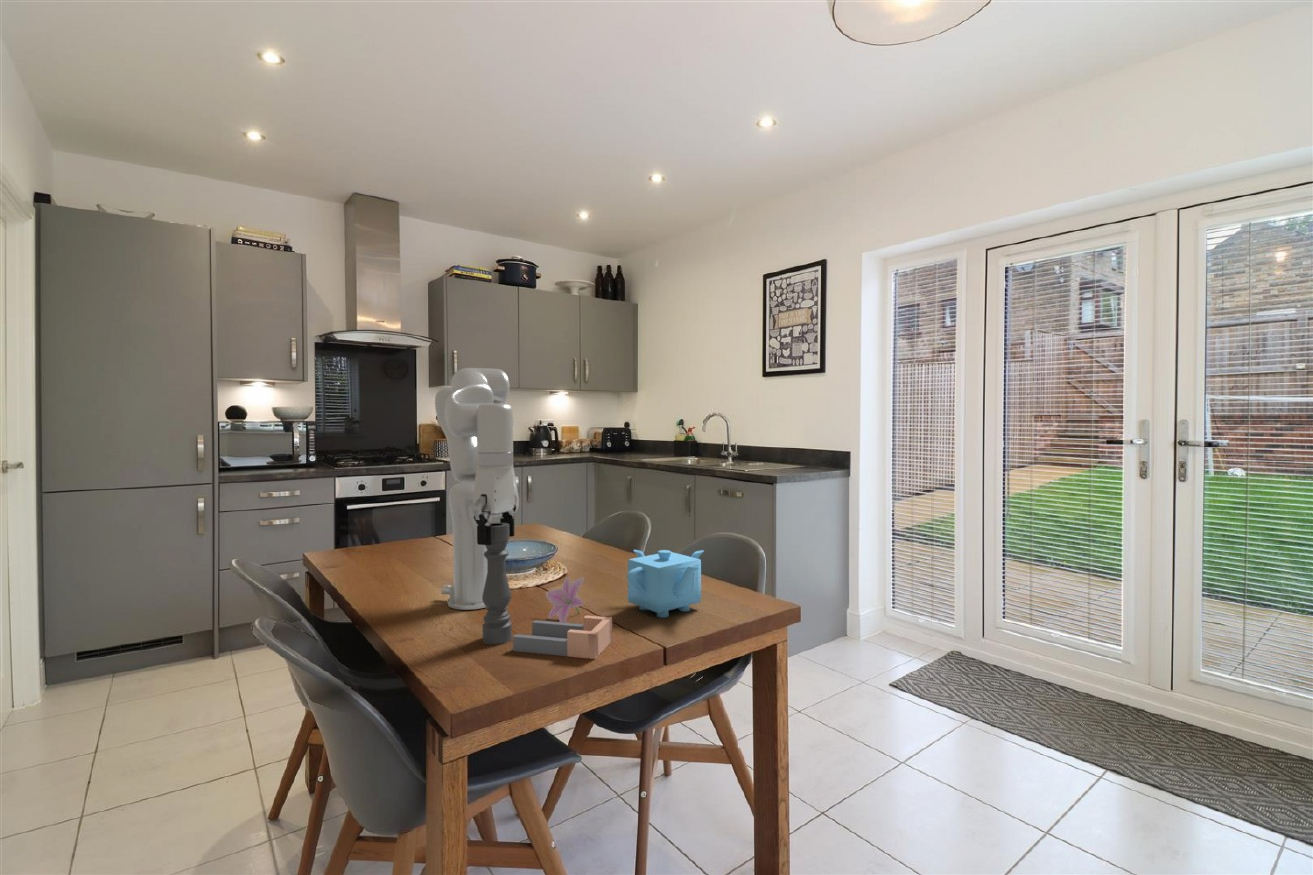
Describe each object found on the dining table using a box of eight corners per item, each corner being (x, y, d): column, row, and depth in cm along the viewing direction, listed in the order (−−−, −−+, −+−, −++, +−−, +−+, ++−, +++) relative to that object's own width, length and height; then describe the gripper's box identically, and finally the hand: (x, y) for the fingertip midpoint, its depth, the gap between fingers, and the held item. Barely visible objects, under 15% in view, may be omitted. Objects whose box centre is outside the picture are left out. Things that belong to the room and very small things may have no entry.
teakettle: (623, 620, 145) (623, 558, 145) (633, 596, 164) (633, 542, 164) (703, 622, 144) (703, 560, 143) (703, 598, 162) (703, 543, 162)
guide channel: (513, 650, 126) (512, 626, 126) (535, 633, 136) (535, 611, 136) (595, 659, 122) (595, 634, 122) (612, 640, 132) (612, 617, 132)
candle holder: (485, 634, 136) (484, 522, 135) (513, 633, 136) (512, 522, 135) (479, 644, 129) (478, 527, 129) (509, 644, 130) (508, 527, 129)
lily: (546, 614, 153) (533, 585, 149) (589, 592, 156) (577, 564, 152) (558, 644, 143) (544, 614, 138) (604, 620, 146) (591, 590, 141)
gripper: (499, 458, 141) (500, 532, 141) (457, 463, 124) (458, 547, 124) (529, 458, 139) (530, 533, 139) (490, 463, 122) (491, 549, 122)
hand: (496, 540), depth 132 cm, fingers open, 9 cm apart
